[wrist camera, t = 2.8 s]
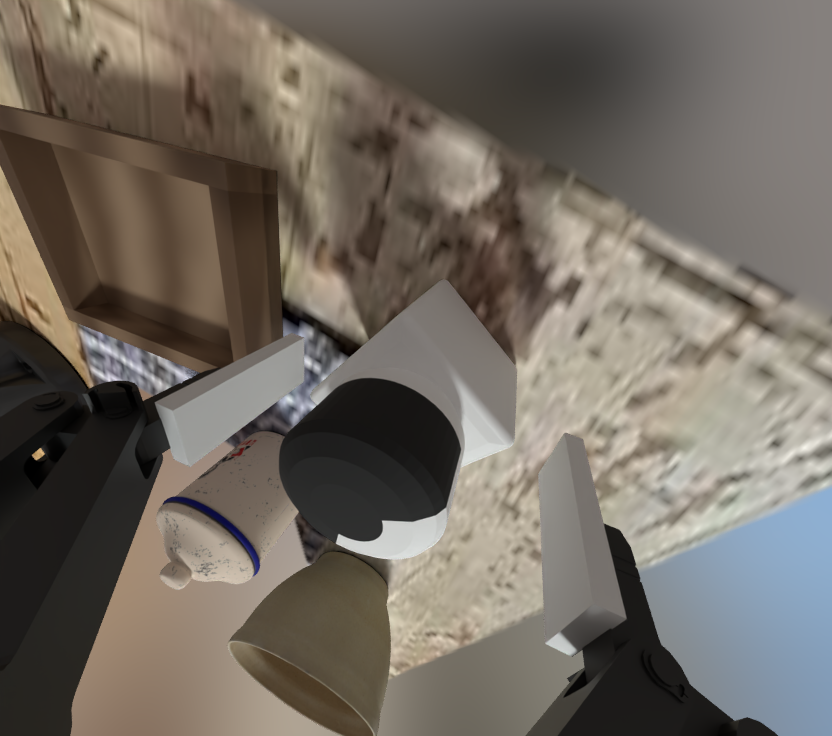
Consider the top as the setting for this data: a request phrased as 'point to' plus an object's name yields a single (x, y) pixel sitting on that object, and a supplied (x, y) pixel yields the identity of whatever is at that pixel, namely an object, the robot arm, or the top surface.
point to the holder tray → (149, 237)
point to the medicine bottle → (401, 429)
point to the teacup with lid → (227, 516)
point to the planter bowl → (323, 644)
